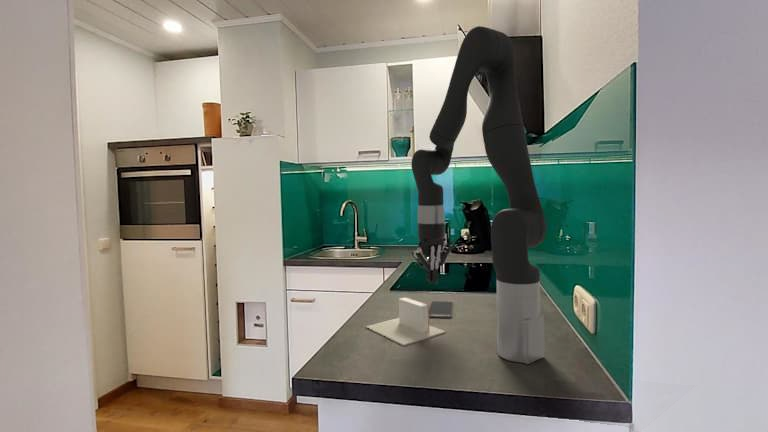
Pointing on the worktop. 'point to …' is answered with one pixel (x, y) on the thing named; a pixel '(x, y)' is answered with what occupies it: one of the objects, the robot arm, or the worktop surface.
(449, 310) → the smartphone
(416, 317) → the block
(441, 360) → the worktop surface
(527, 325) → the robot arm
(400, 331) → the mat
